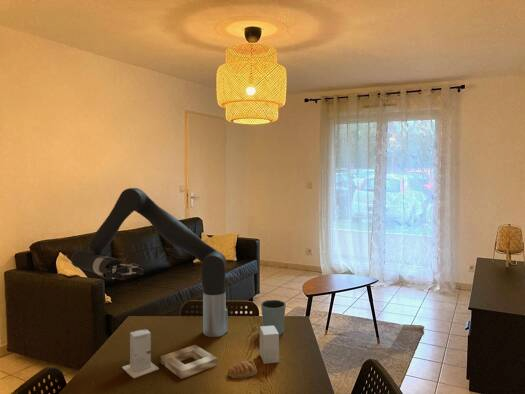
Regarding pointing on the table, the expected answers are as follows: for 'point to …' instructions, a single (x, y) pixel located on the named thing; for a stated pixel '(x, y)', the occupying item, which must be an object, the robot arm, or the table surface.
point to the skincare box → (140, 350)
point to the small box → (269, 344)
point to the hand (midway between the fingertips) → (132, 274)
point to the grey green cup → (273, 314)
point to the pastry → (243, 369)
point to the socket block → (185, 370)
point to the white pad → (140, 372)
